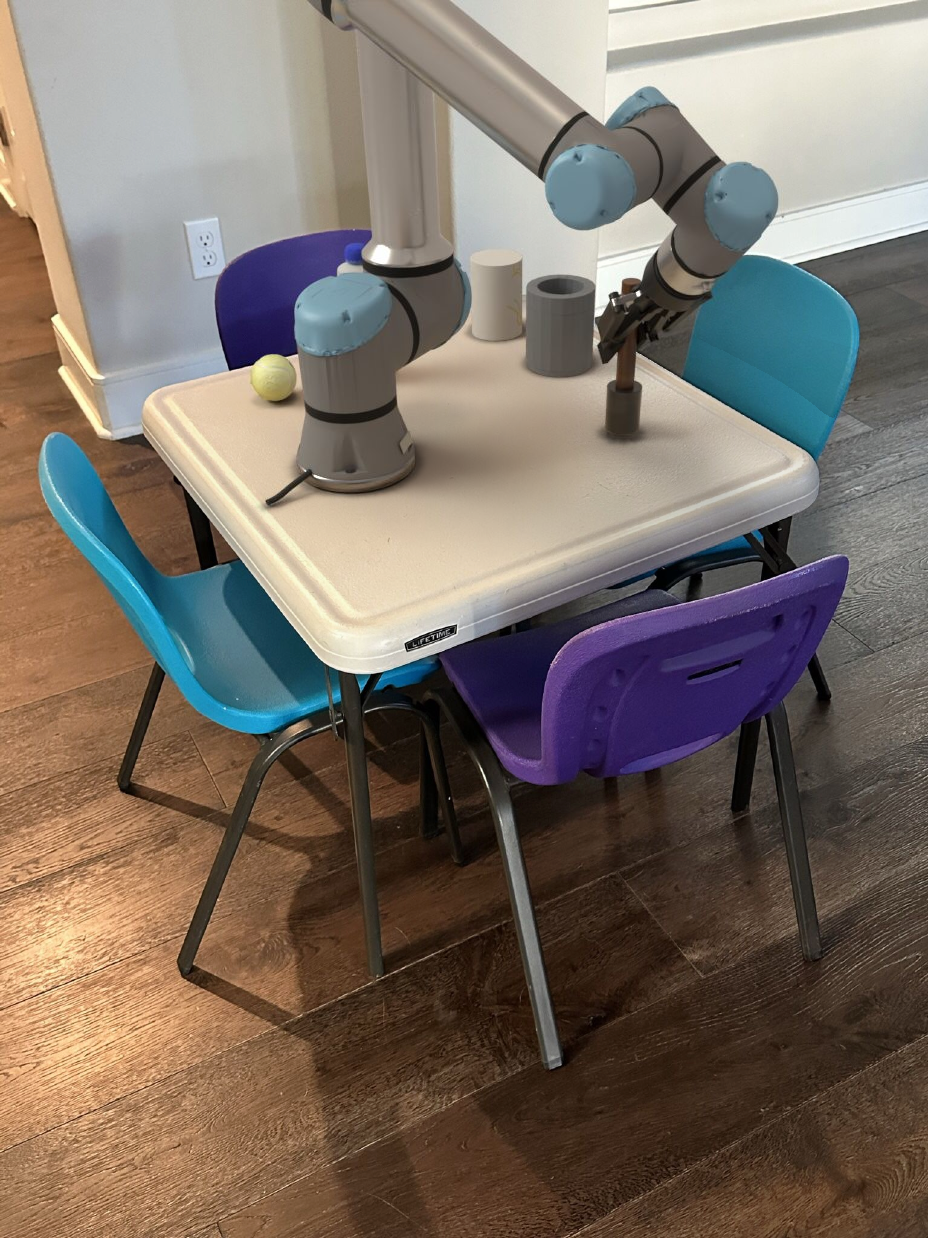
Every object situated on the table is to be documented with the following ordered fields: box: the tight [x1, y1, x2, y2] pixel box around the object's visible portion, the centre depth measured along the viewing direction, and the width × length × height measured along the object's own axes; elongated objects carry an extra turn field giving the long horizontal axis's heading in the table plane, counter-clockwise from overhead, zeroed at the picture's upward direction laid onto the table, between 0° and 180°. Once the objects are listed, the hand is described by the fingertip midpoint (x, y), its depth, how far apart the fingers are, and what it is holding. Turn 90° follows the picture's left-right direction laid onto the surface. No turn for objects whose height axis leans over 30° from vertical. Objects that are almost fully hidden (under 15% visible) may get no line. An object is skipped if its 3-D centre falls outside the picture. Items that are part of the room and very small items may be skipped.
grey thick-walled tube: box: [525, 273, 597, 378], centre depth 168 cm, size 10×10×12 cm
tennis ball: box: [249, 353, 297, 402], centre depth 162 cm, size 6×7×7 cm
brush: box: [604, 277, 643, 436], centre depth 145 cm, size 5×5×20 cm
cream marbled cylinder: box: [469, 248, 523, 342], centre depth 179 cm, size 8×8×12 cm
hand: (613, 352), depth 149 cm, fingers closed on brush, 2 cm apart
